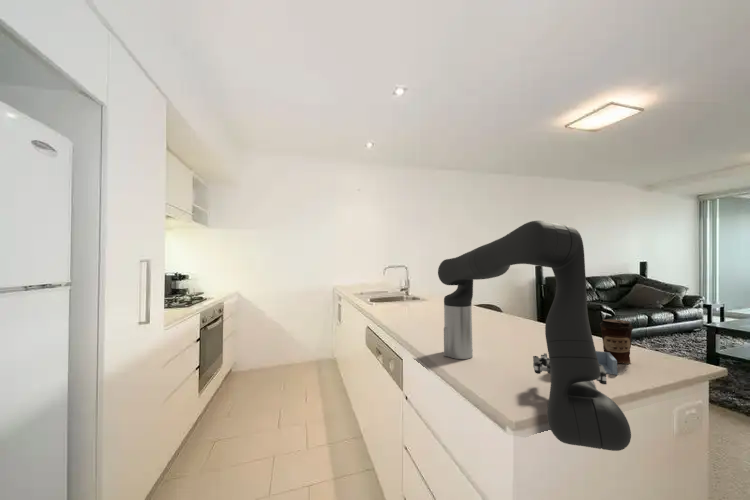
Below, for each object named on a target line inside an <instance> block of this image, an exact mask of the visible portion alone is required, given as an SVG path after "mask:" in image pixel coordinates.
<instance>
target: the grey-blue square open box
mask: <svg viewBox="0 0 750 500" xmlns="http://www.w3.org/2000/svg"><path fill="white" fill-rule="evenodd" d="M596 354H597V360H598V363H599V365H602V366H603V367H604V369H605V371H606V375H607V374H608V375H613V376H614V375H616V376H618V375H619V374H618V373H619V372H618V363H617V360H616V359H615V358H614V357H613V356H612V355H611V353H610V352H604V351H601V350H596Z"/></svg>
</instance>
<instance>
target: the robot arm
mask: <svg viewBox="0 0 750 500" xmlns="http://www.w3.org/2000/svg"><path fill="white" fill-rule="evenodd" d="M512 265H532V266H537V267H543V268H544V267H545V268H551V270H552V272H553V275H554V278H555V284H556V285H555V295H554V298H553V301H552V302H551V303H552V304H551V306H550V308H549V311H548V314H547V317H546V320H545V325H544V326H545V327H544V333H545V341H546V347H547V353H548V354H547V353H546V352H544V353H543V354H540V357H539V356H537V355H533V356H532V358H533V361H532V362H533V363H532V364H533V366H532V367H533V369H534V373H535V374H537V375H539V374H541V373H543V372H547V374H549V376H550V387H549V388H550V390H549V397H548V403H547V408H546V409H547V410H546V418H547V424H548V426H549V430H550V431H551V432H552V434H553V436H554V437H555V438H556V439H557V440H558V441H560V442H561V443H563V444H565V445H566V444H567V445H571V446H579V447H585V448H592V449H599V450H605V451H611V452H612V451H613V452H619V451H622V450H625V449H626V448H627V447H628V446H629V444H630V443H631V438H632V431H631V426H630V424H629V421H628V419H627V417H626V416H625V413H624V412H623V411H622V409H621V407H620V406H619V405H618V404H617V403H616V402H615V401H614V400H613V399H611V398H610V397H609V396H608V395H606V394H604V393H603V392H602V391H600V390H599V389H597V386H596V382H599V383H600V385H607V384H608V382H607V373H606V371H605V369H604V367H603V366H602V365H599V363H598V360H597V354H596V351H597V350H596V346H595V342H594V339H593V335H592V330H591V326H590V321H589V320H590V319H589V314H588V313H589V312H588V301H587V300H588V299H587V279H586V276H587V275H586V262H585V248H584V241H583V238H582V236H581V234H580V232H579V231H578V229H576V228H575V227H573V226H571V225H567V224H562V223H557V222H552V221H548V220H546V221H545V220H531V221H529V222H526V223H524V224H522V225H520V226H518V227H516V228H515V229H514V230H512V231H510V232H509V233H507V234H506V235H504V236H502V237H500V238H497V239H495V240H493V241H491V242H489V243H486V244H483V245H480V246H479V247H477V248H474V249H472V250H470V251H467V252H465V253H463V254H461V255H459V256H456V257H452V258H447V259H446V258H445V259H444V260H442V261H441V262H440V263H439V265H438V267H437V268H438V269H437V276H438V278H439V281H440V282H441V283H442V284H443V285H446V286H457V288H456V289H455V290H454V291H453V292H452V293H449V294H447V295H445V296H444V299H443V319H444V320H443V321H444V324H443V325H444V327H443V356H444V357H448V358H450V359H451V358H452V359H456V360H469V359H471V358H473V356H474V355H473V354H474V353H473V352H474V351H473V319H472V317H473V316H472V314H473V313H472V311H473V310H472V308H473V306H472V305H473V304H472V301H473V296H474V281H475V280H477V281H478V280H487V279H488V280H489V279H492V278H494V279H495V278H498V277H500V276H502V275H504V274H506V273H507V272H508V271H509V268H511V266H512ZM595 381H596V382H595Z"/></svg>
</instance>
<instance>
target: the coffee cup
mask: <svg viewBox="0 0 750 500" xmlns="http://www.w3.org/2000/svg"><path fill="white" fill-rule="evenodd" d="M599 326H600V333H601V340H602V345H603V349H602V350H603V352H610V353H611V355H612V356H613V357H614V358H615V359H616V360H617V364H623V365H624V364H626V365H627V364H632V362H631V357H630V356H631V347H632V332H633V330H634V326H633V325H632V324H631V321H627V320H624V319H623V320H622V319H608V318H607V319H602V321H601V322H600V323H599Z"/></svg>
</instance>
